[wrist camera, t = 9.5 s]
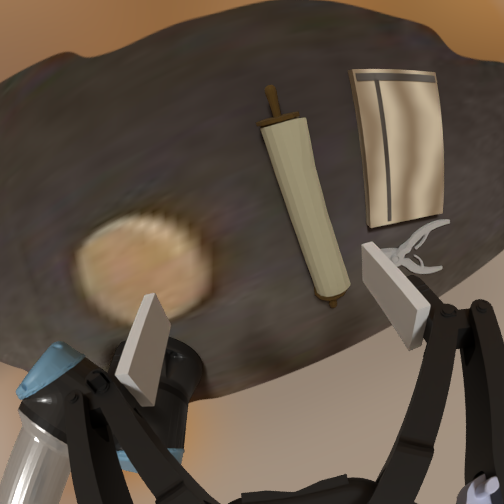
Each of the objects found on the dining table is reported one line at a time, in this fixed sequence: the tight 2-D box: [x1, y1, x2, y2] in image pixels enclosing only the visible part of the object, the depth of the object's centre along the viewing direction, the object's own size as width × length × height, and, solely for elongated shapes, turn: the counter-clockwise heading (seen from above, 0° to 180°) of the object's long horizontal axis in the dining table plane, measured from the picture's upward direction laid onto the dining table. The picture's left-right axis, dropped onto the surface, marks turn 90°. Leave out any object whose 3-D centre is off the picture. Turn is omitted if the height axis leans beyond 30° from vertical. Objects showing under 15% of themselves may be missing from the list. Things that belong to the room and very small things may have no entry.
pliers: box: [380, 219, 450, 274], centre depth 39 cm, size 10×2×15 cm
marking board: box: [348, 69, 444, 228], centre depth 31 cm, size 13×21×2 cm, turn 12°
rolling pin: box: [256, 85, 351, 308], centre depth 34 cm, size 32×6×5 cm, turn 20°
